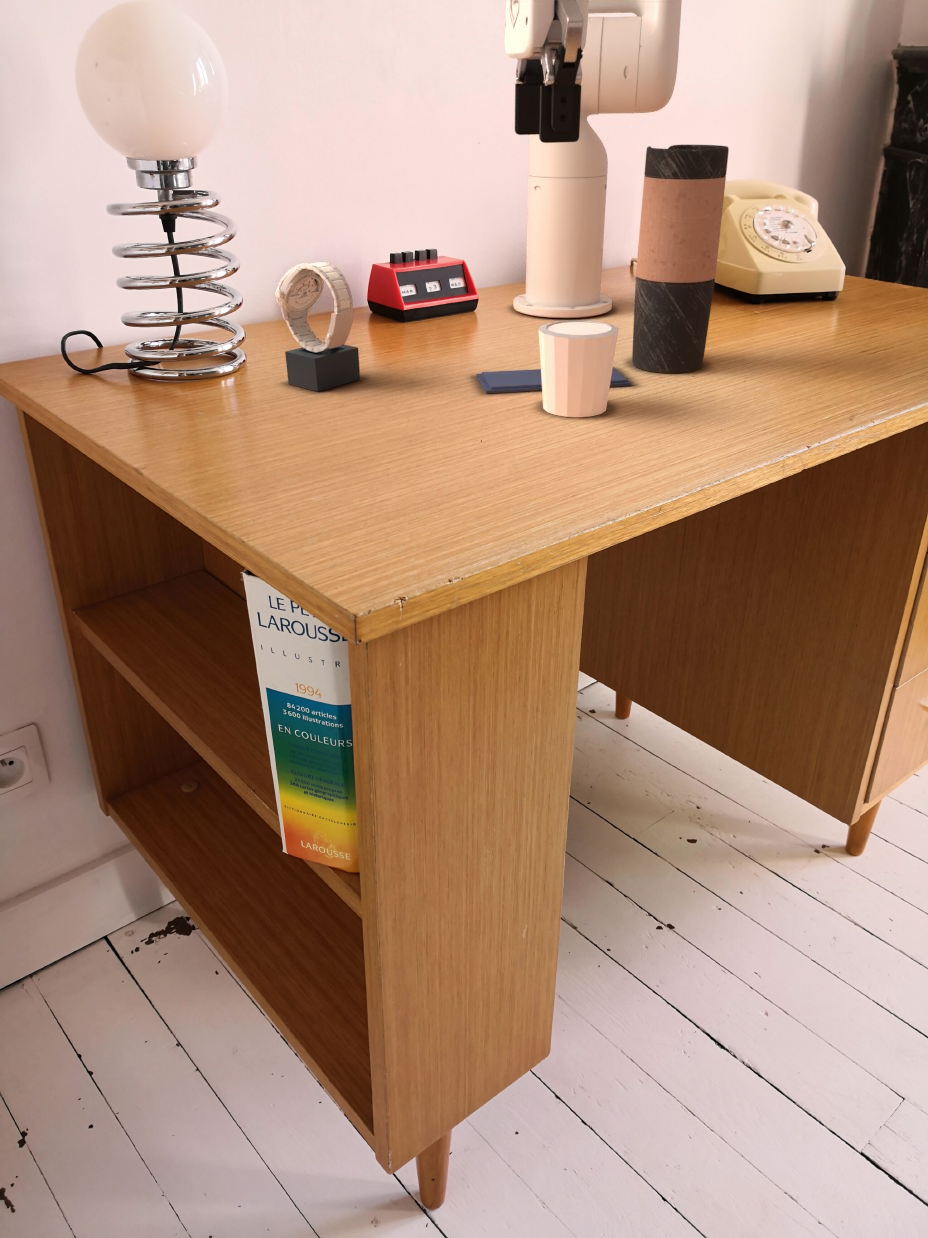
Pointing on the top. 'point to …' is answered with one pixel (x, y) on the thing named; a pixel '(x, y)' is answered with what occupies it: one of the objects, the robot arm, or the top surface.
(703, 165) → the travel mug
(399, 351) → the top surface
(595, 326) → the cream tapered cup
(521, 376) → the blue flat rectangular slab
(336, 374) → the watch
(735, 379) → the top surface
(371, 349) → the top surface
